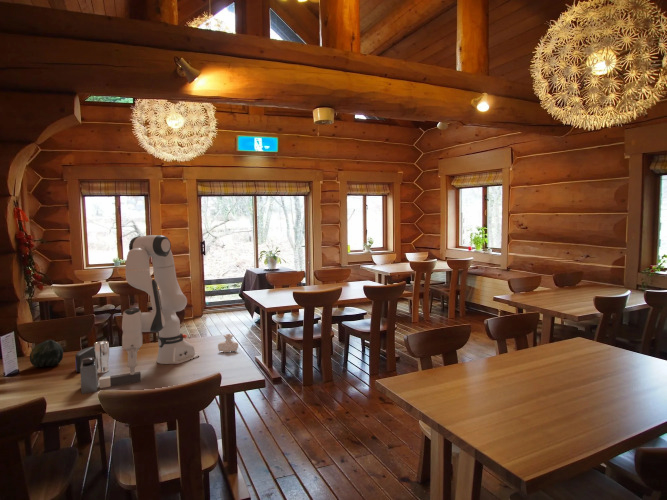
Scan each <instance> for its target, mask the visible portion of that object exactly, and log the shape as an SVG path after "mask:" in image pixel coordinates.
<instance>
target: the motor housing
mask: <svg viewBox="0 0 667 500" xmlns="http://www.w3.org/2000/svg"><path fill="white" fill-rule="evenodd" d="M79 373H80V387H81V388H80V390H81V395H83V394H89V393H97V392H98V385H99V380H98V379H99V378H98V377H99V376H98V374H99V373H97V359H95V358H94V357H88V358H84V359H82V363H81V367H80V372H79Z"/></svg>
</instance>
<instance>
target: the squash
mask: <svg viewBox="0 0 667 500" xmlns="http://www.w3.org/2000/svg"><path fill="white" fill-rule="evenodd" d="M63 357H64V349H63V347H62V345H61V344H59V343H58V342H56V341H55V340H54V339H47V340H44V341H42V342H41V343H40V342H39V344H37V345H35V346H34V347H33V348H32V349H31V352H30V353H29V361H30V363H31V364H32V366H33V367H35V368H41V367H43V368H44V367H55V366H56V365H58V364H60V363H61V362H62V361H63Z"/></svg>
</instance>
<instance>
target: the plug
mask: <svg viewBox="0 0 667 500" xmlns="http://www.w3.org/2000/svg"><path fill="white" fill-rule="evenodd" d="M98 379H99V380H98V384H99V389H104V388H109V387H115V386H122V385H129V384H134V383H139V382H142V377H141V371H135V374H134V375H130V372H128V373H127V372H126V373H122V374H121V373H120V374H114V375H109V376H101V377H99V378H98Z"/></svg>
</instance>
